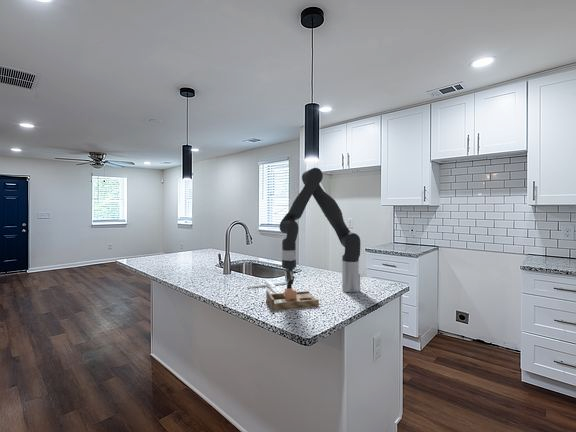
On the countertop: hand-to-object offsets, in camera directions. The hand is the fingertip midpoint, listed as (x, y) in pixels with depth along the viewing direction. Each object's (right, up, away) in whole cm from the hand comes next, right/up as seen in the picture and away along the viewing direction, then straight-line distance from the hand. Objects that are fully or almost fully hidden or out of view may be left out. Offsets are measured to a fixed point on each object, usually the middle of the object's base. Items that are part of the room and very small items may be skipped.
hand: (289, 291), depth 159 cm
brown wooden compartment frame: (+2, -4, -6) cm, 8 cm away
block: (+1, -2, -4) cm, 5 cm away
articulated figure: (-9, -4, +18) cm, 21 cm away
